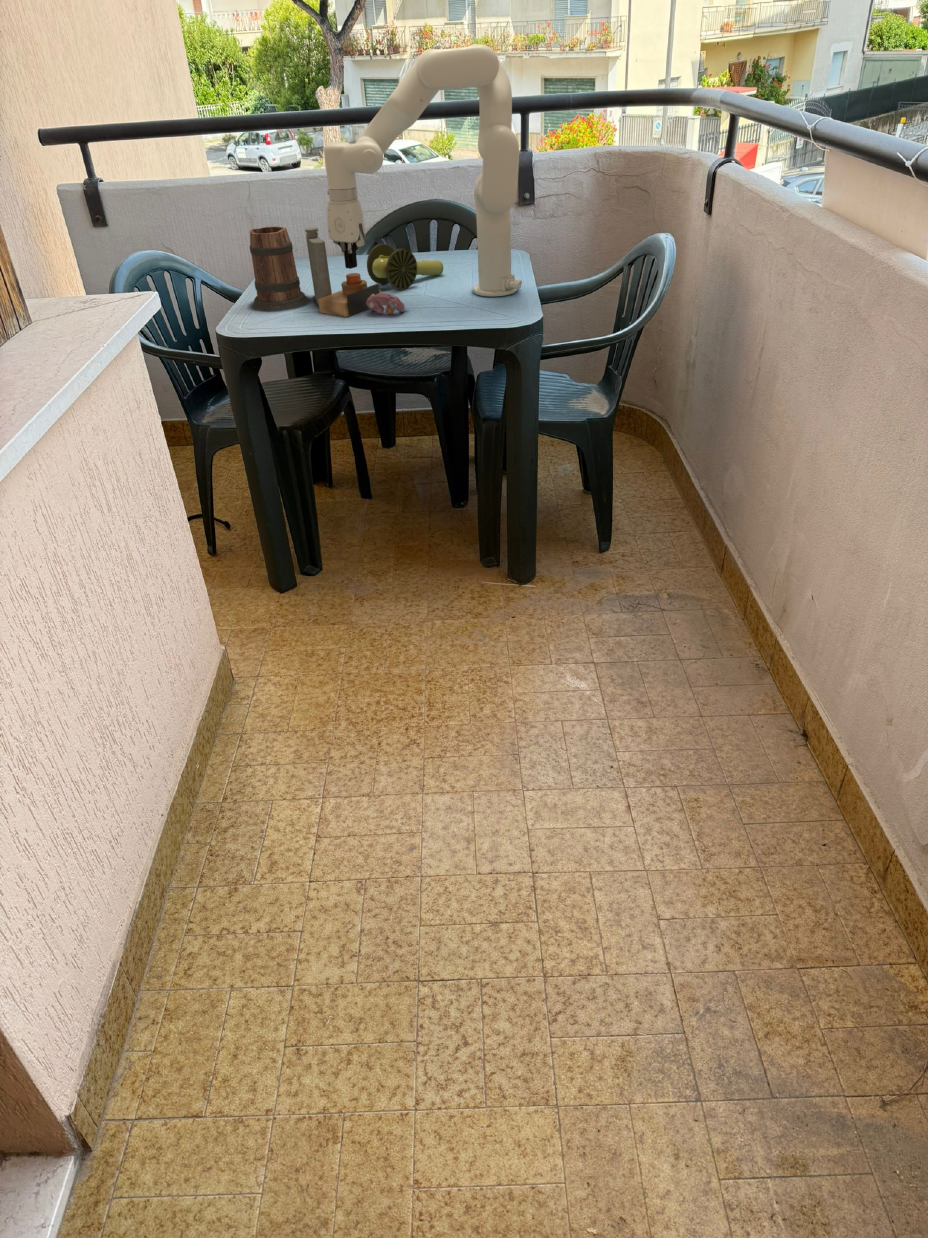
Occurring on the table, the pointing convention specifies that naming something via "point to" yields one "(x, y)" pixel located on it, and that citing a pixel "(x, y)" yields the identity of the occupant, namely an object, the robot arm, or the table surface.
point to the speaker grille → (360, 298)
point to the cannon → (398, 266)
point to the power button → (353, 278)
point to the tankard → (275, 270)
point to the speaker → (340, 299)
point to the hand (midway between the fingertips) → (351, 267)
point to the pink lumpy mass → (385, 303)
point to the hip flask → (318, 264)
